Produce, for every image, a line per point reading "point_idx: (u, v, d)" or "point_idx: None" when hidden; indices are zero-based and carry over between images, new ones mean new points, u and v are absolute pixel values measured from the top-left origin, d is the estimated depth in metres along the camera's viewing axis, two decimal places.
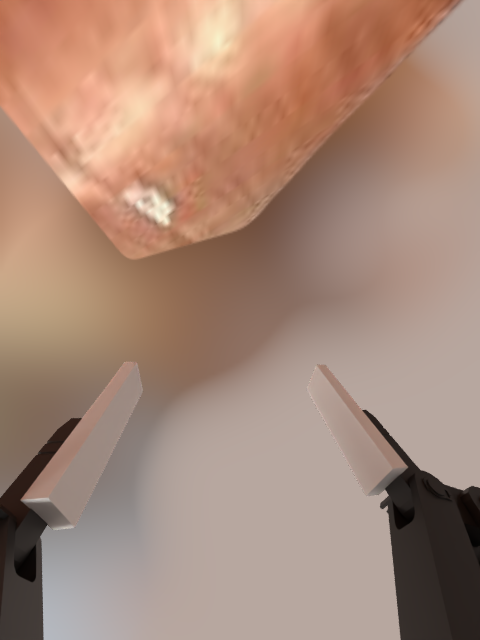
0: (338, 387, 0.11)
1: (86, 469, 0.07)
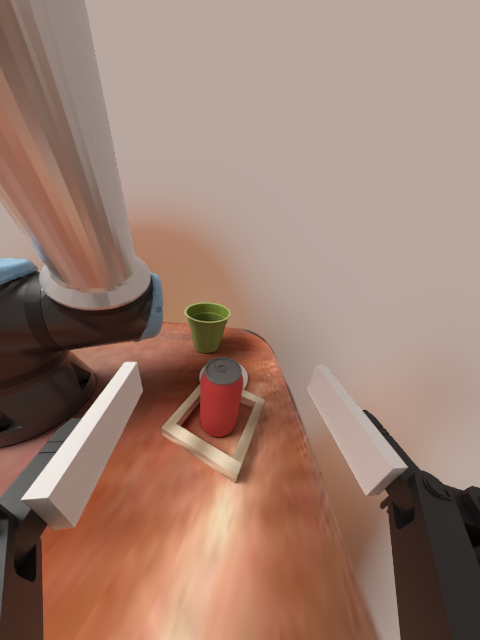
0: (338, 387, 0.11)
1: (86, 469, 0.07)
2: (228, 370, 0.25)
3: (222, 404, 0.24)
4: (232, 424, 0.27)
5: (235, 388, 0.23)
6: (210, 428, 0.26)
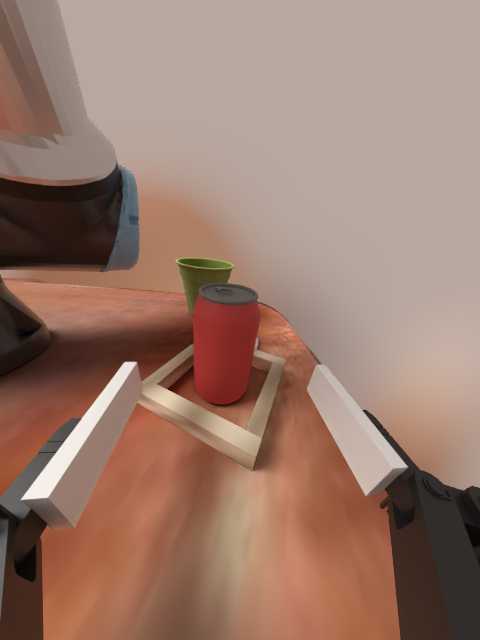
0: (338, 387, 0.11)
1: (86, 469, 0.07)
2: (236, 294, 0.16)
3: (228, 341, 0.14)
4: (243, 385, 0.18)
5: (249, 315, 0.14)
6: (209, 390, 0.17)
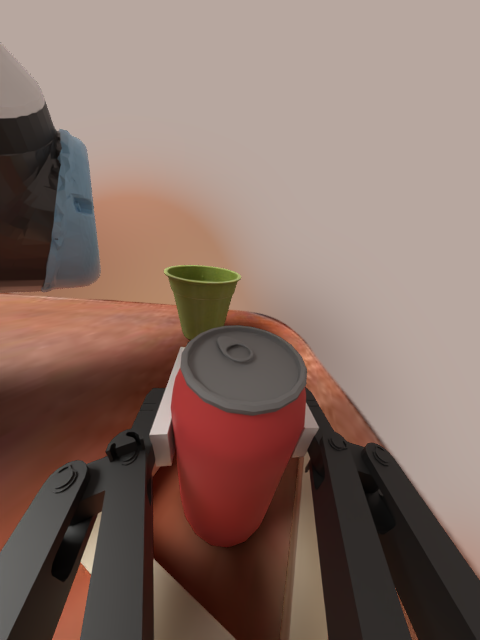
0: None
1: None
2: (260, 358, 0.08)
3: (247, 482, 0.06)
4: (266, 509, 0.10)
5: (294, 424, 0.06)
6: (205, 531, 0.09)
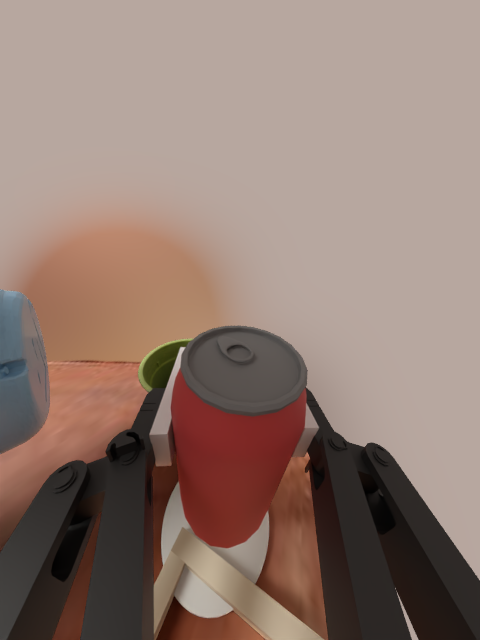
0: None
1: None
2: (260, 358, 0.08)
3: (248, 483, 0.06)
4: (267, 510, 0.10)
5: (295, 424, 0.06)
6: (205, 532, 0.09)
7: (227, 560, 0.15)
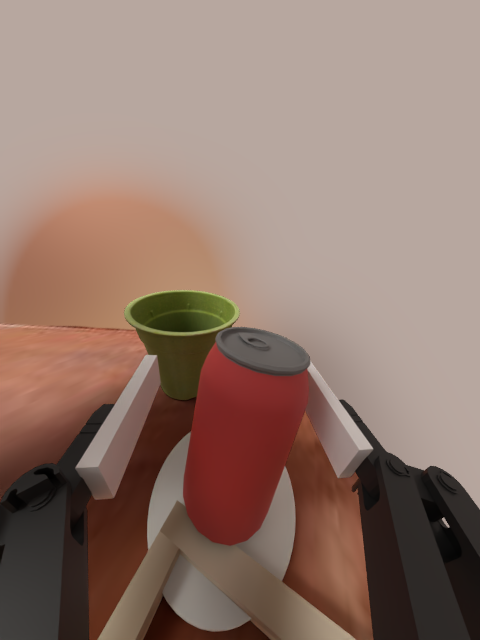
0: (318, 378, 0.12)
1: (122, 447, 0.08)
2: (273, 349, 0.10)
3: (265, 440, 0.08)
4: (269, 503, 0.10)
5: (302, 392, 0.08)
6: (212, 519, 0.09)
7: (240, 547, 0.11)
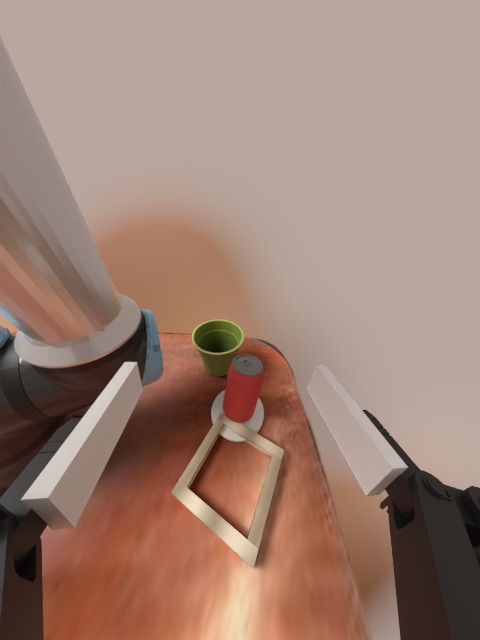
0: (338, 387, 0.11)
1: (86, 469, 0.07)
2: (252, 365, 0.30)
3: (247, 392, 0.28)
4: (251, 412, 0.32)
5: (258, 380, 0.28)
6: (233, 414, 0.31)
7: None
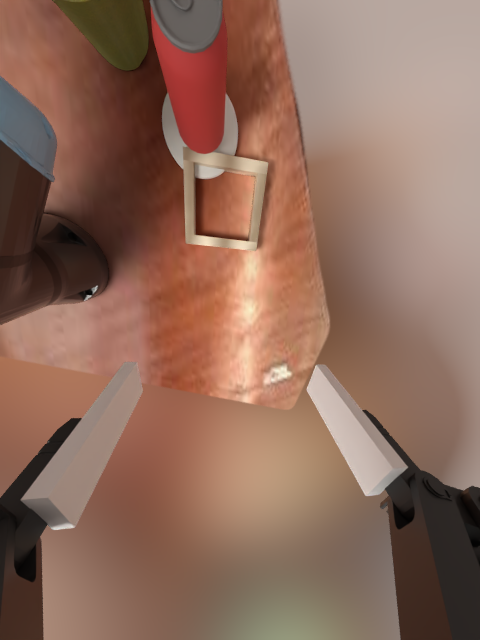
0: (338, 387, 0.11)
1: (86, 469, 0.07)
2: None
3: (209, 96, 0.17)
4: (222, 128, 0.23)
5: (221, 52, 0.15)
6: (201, 145, 0.23)
7: None
